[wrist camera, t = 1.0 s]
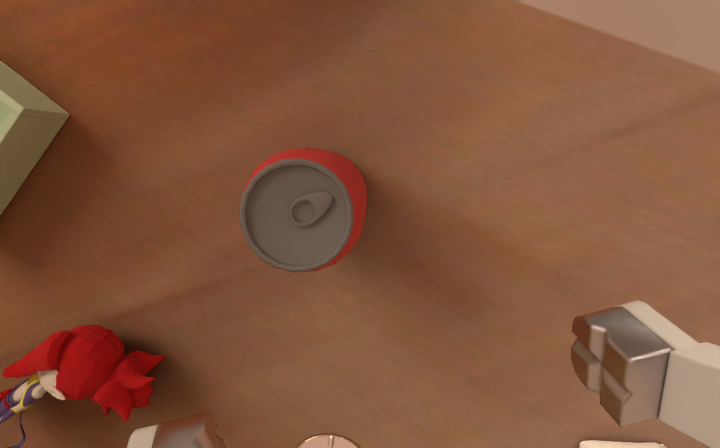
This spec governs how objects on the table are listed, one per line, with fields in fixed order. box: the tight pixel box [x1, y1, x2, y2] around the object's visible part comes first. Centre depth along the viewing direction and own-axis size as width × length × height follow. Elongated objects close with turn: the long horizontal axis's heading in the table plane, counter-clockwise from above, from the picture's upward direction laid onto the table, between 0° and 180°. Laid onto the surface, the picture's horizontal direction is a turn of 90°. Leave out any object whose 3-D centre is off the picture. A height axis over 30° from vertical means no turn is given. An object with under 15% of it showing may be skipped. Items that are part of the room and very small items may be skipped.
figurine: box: [0, 325, 165, 448], centre depth 34 cm, size 6×8×15 cm
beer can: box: [239, 148, 367, 272], centre depth 29 cm, size 7×7×12 cm
